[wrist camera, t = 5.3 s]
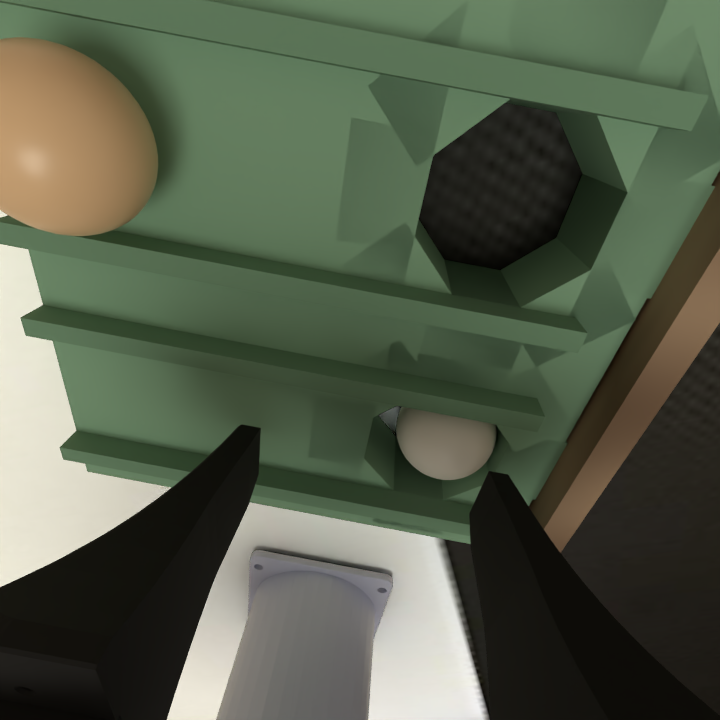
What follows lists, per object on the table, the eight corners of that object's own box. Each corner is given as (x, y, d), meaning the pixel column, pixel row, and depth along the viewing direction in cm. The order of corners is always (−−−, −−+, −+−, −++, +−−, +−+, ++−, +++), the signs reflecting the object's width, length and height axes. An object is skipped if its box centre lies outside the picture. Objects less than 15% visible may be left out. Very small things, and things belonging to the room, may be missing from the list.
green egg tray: (497, 492, 19) (516, 572, 16) (129, 423, 19) (72, 488, 16) (724, 35, 10) (870, 5, 7) (39, -94, 10) (-132, -184, 7)
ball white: (449, 427, 19) (506, 483, 16) (376, 448, 17) (424, 515, 14) (462, 355, 17) (529, 405, 14) (382, 373, 15) (438, 432, 13)
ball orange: (190, 226, 11) (109, 273, 8) (57, 201, 11) (-73, 239, 8) (181, 64, 9) (70, 46, 6) (21, 34, 9) (-167, 1, 6)
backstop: (514, 495, 19) (538, 584, 16) (493, 491, 19) (512, 579, 16) (755, 41, 10) (935, 11, 7) (716, 34, 10) (875, -1, 7)
